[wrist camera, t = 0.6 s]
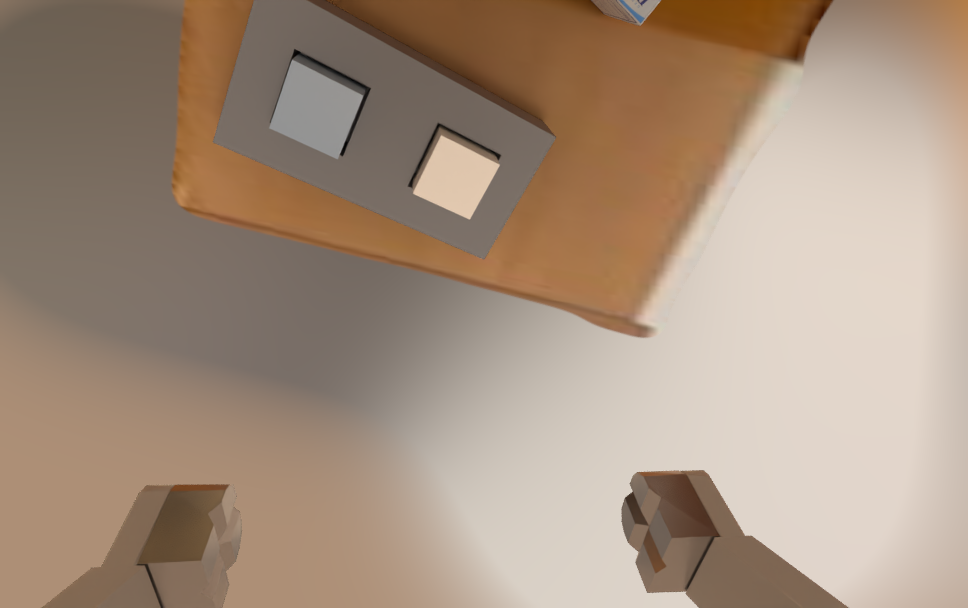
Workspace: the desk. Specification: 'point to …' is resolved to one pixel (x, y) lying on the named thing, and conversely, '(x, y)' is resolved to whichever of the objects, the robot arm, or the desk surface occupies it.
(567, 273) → the desk surface
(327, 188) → the panel
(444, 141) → the white key
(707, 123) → the desk surface
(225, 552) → the robot arm
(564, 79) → the desk surface
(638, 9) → the medicine box
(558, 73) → the desk surface
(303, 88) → the slate blue key
